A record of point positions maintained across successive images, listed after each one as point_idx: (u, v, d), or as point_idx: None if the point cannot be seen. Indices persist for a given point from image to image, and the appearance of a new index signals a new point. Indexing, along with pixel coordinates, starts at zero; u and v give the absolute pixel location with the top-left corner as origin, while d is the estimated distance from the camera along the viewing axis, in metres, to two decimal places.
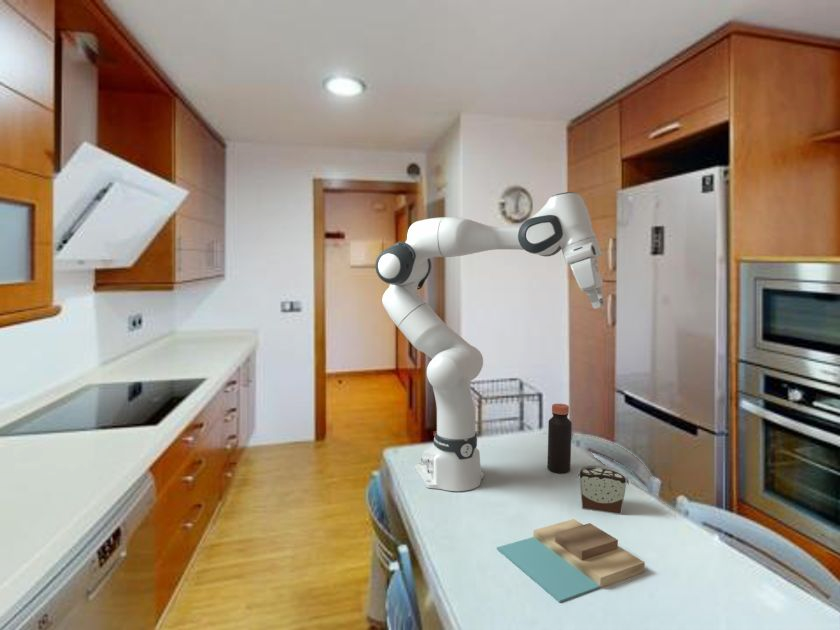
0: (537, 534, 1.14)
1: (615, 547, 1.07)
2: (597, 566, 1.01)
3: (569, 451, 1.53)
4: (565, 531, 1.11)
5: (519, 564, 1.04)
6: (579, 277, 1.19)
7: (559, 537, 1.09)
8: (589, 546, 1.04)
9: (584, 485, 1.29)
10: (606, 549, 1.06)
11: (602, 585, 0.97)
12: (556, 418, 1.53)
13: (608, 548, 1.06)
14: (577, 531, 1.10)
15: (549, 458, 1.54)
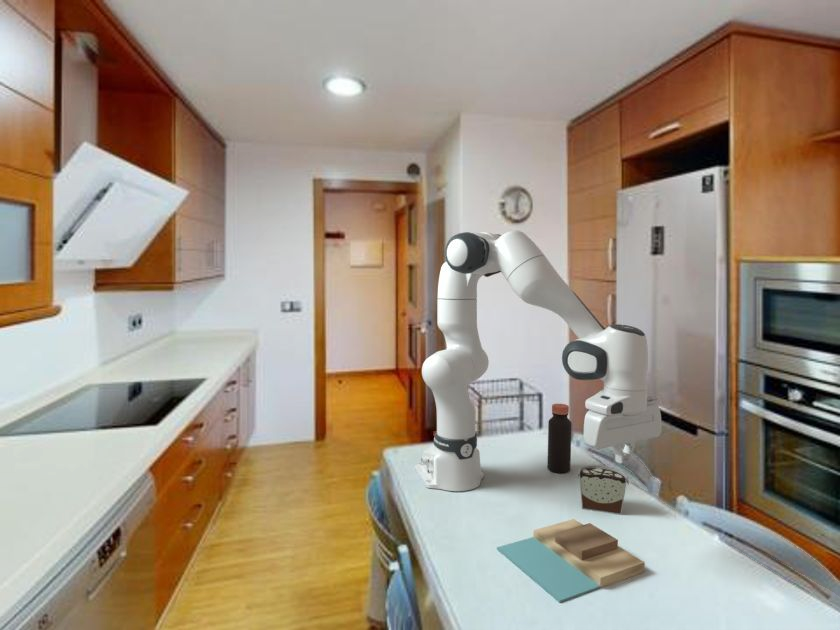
0: (537, 534, 1.14)
1: (615, 547, 1.07)
2: (597, 566, 1.01)
3: (569, 451, 1.53)
4: (565, 531, 1.11)
5: (519, 564, 1.04)
6: (586, 430, 1.07)
7: (559, 537, 1.09)
8: (589, 546, 1.04)
9: (584, 485, 1.29)
10: (606, 549, 1.06)
11: (602, 585, 0.97)
12: (556, 418, 1.53)
13: (608, 548, 1.06)
14: (577, 531, 1.10)
15: (549, 458, 1.54)
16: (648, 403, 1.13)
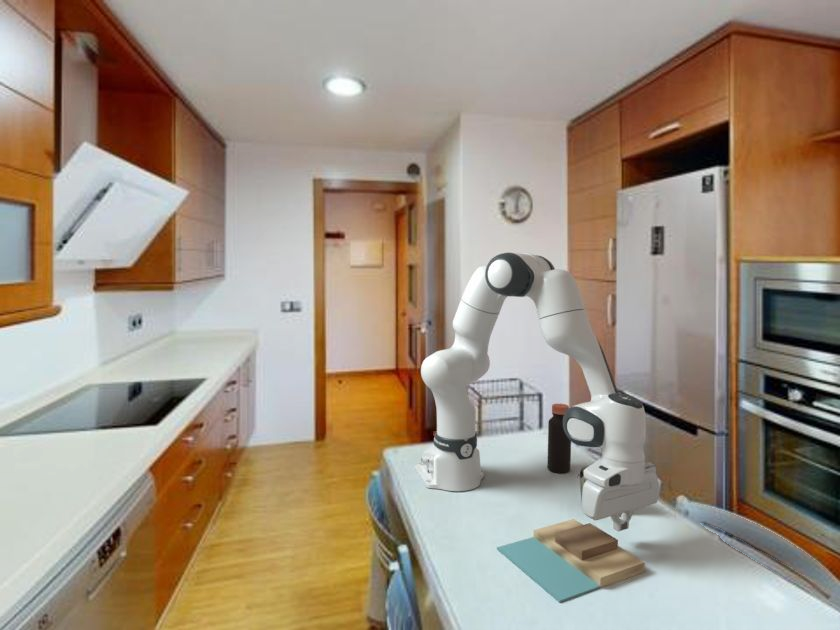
0: (537, 534, 1.14)
1: (615, 547, 1.07)
2: (597, 566, 1.01)
3: (569, 451, 1.53)
4: (565, 531, 1.11)
5: (519, 564, 1.04)
6: (584, 500, 1.09)
7: (559, 537, 1.09)
8: (589, 546, 1.04)
9: None
10: (606, 549, 1.06)
11: (602, 585, 0.97)
12: (556, 418, 1.53)
13: (608, 548, 1.06)
14: (577, 531, 1.10)
15: (549, 458, 1.54)
16: (646, 470, 1.14)
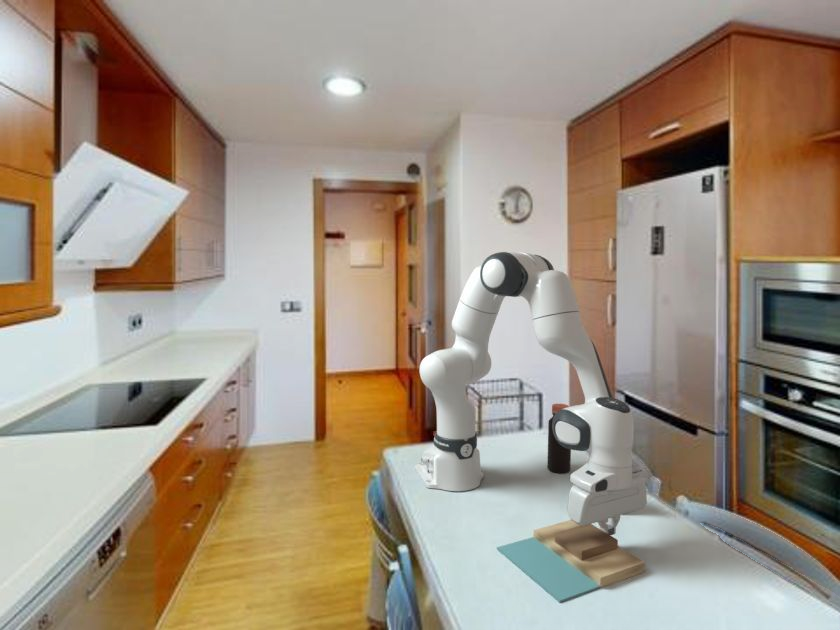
0: (537, 534, 1.14)
1: (615, 547, 1.07)
2: (597, 566, 1.01)
3: (569, 451, 1.53)
4: (565, 531, 1.11)
5: (519, 564, 1.04)
6: (571, 505, 1.07)
7: (559, 537, 1.09)
8: (588, 546, 1.04)
9: None
10: (606, 549, 1.06)
11: (602, 585, 0.97)
12: None
13: (608, 548, 1.06)
14: (577, 531, 1.10)
15: (549, 458, 1.54)
16: (633, 475, 1.13)
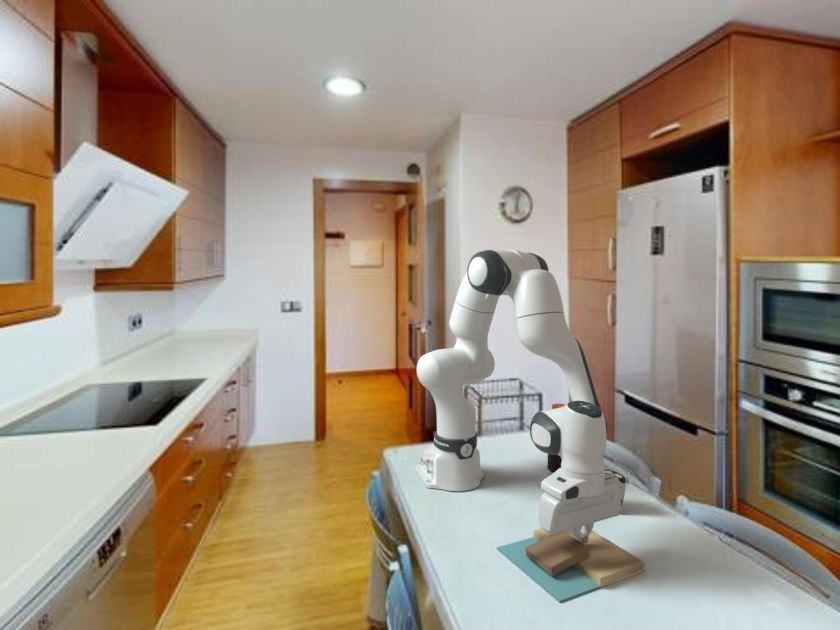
0: (537, 534, 1.14)
1: (587, 555, 1.03)
2: (597, 566, 1.01)
3: None
4: (536, 543, 1.07)
5: (519, 564, 1.04)
6: (541, 513, 1.04)
7: (529, 552, 1.05)
8: (559, 560, 1.01)
9: None
10: (578, 559, 1.02)
11: (602, 585, 0.97)
12: None
13: (580, 558, 1.02)
14: (548, 542, 1.07)
15: (549, 458, 1.54)
16: (607, 481, 1.10)
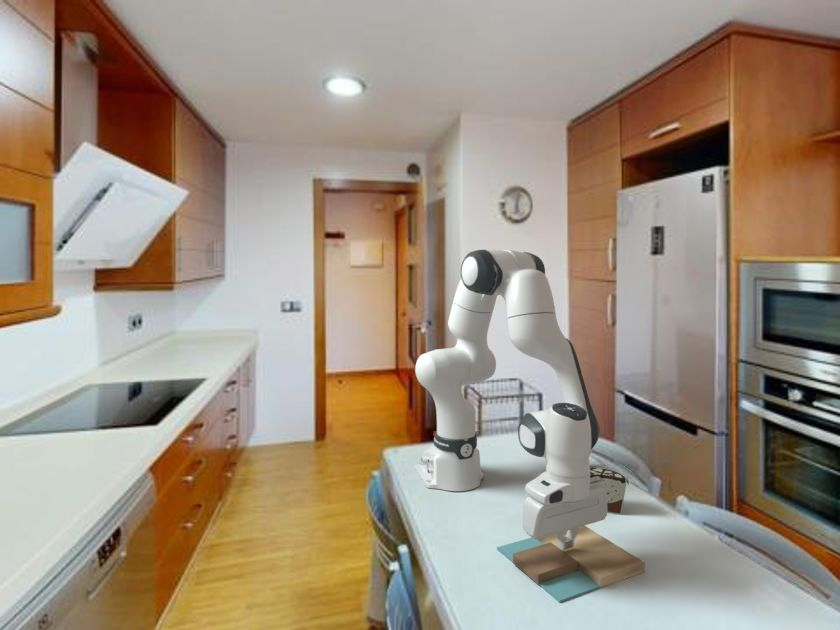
0: None
1: (575, 569, 1.02)
2: (597, 566, 1.01)
3: None
4: (524, 551, 1.05)
5: None
6: (525, 517, 1.02)
7: (517, 558, 1.03)
8: (546, 569, 0.99)
9: None
10: (565, 571, 1.00)
11: (602, 585, 0.97)
12: None
13: (567, 570, 1.01)
14: (536, 551, 1.05)
15: None
16: (593, 485, 1.08)
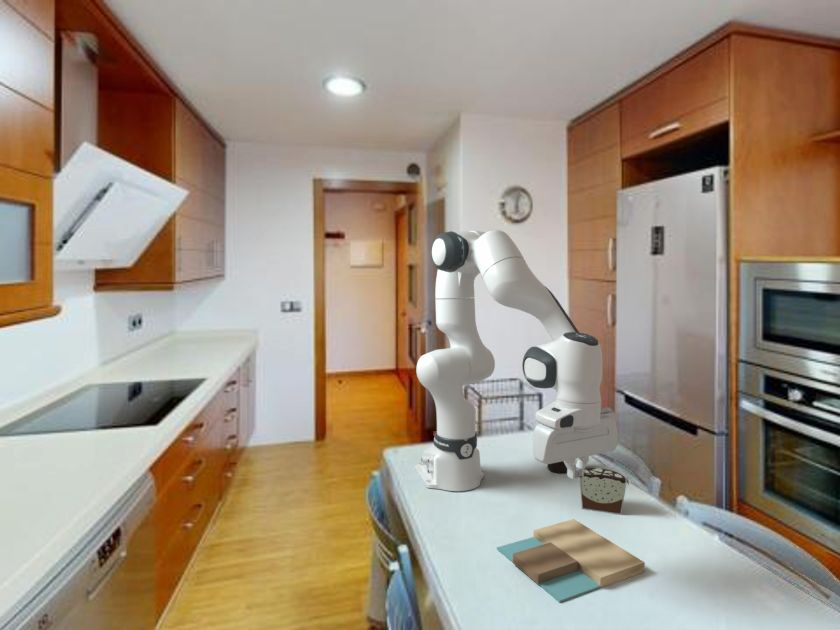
0: (537, 534, 1.14)
1: (575, 569, 1.02)
2: (597, 566, 1.01)
3: None
4: (524, 551, 1.05)
5: None
6: (535, 443, 1.02)
7: (517, 558, 1.03)
8: (546, 569, 0.99)
9: (584, 485, 1.29)
10: (565, 571, 1.00)
11: (602, 585, 0.97)
12: None
13: (567, 570, 1.01)
14: (536, 551, 1.05)
15: None
16: (603, 415, 1.07)
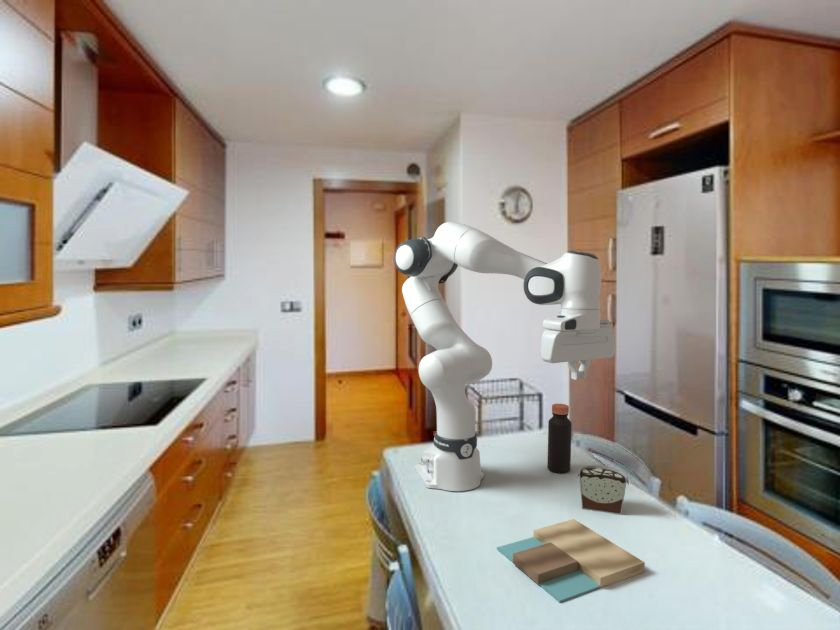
0: (537, 534, 1.14)
1: (575, 569, 1.02)
2: (597, 566, 1.01)
3: (569, 451, 1.53)
4: (524, 551, 1.05)
5: None
6: (543, 346, 1.16)
7: (517, 558, 1.03)
8: (546, 569, 0.99)
9: (584, 485, 1.29)
10: (565, 571, 1.00)
11: (602, 585, 0.97)
12: (556, 418, 1.53)
13: (567, 570, 1.01)
14: (536, 551, 1.05)
15: (549, 458, 1.54)
16: (603, 326, 1.22)
